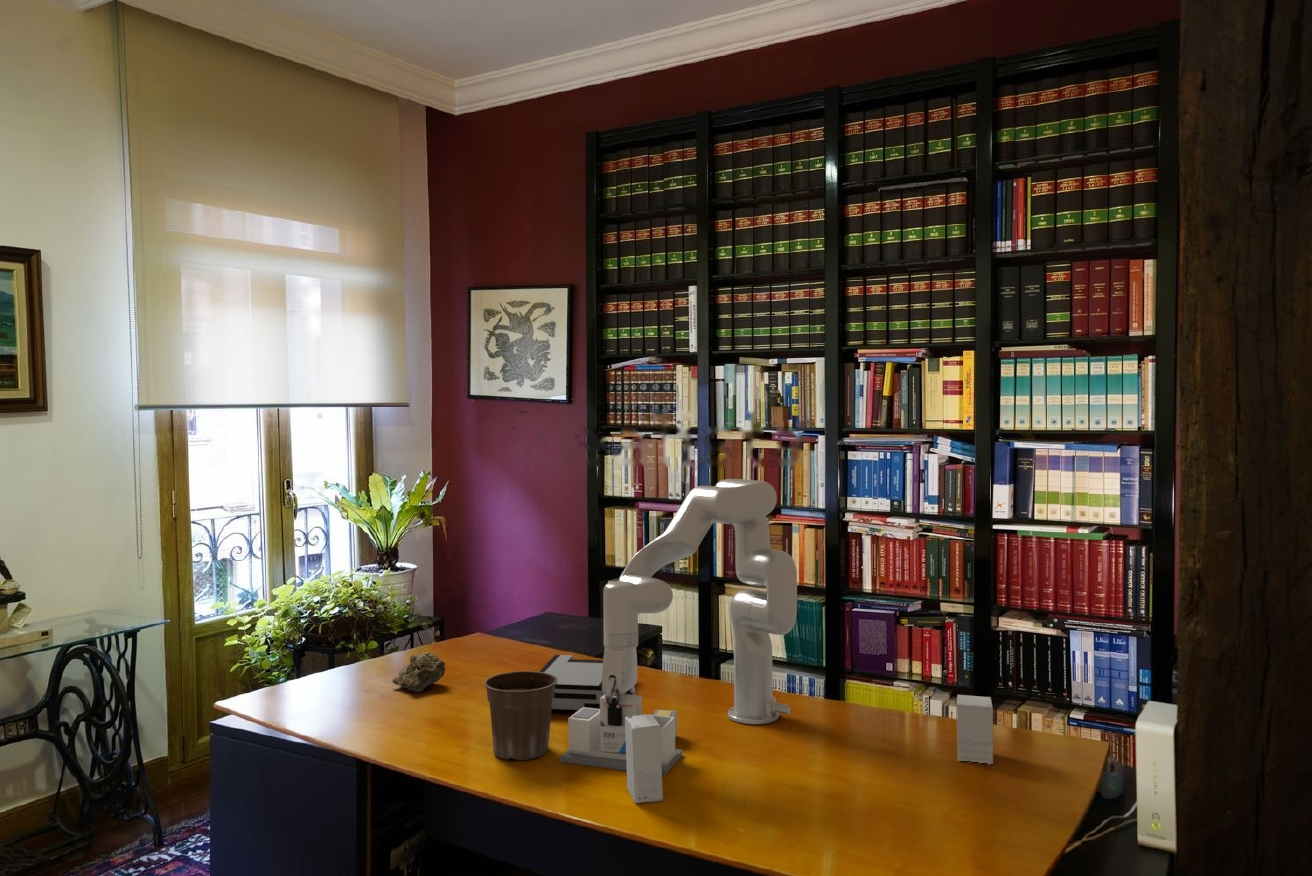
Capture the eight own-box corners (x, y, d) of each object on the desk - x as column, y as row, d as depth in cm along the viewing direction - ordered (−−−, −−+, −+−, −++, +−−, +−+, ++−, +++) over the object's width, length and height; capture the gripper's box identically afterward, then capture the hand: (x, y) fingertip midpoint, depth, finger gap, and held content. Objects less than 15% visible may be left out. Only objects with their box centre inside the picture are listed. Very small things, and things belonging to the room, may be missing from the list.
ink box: (643, 747, 197) (643, 694, 197) (637, 755, 192) (637, 700, 192) (606, 744, 199) (606, 691, 199) (599, 751, 195) (599, 697, 195)
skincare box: (663, 801, 174) (662, 725, 174) (633, 805, 173) (632, 728, 172) (653, 784, 182) (653, 712, 182) (624, 787, 181) (624, 714, 181)
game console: (626, 681, 255) (626, 652, 255) (604, 718, 224) (604, 686, 223) (555, 678, 258) (555, 650, 258) (523, 715, 226) (523, 683, 226)
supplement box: (992, 753, 198) (992, 696, 197) (993, 766, 191) (993, 707, 190) (957, 749, 200) (956, 693, 200) (956, 761, 193) (956, 703, 193)
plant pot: (529, 733, 212) (529, 666, 212) (572, 751, 201) (572, 679, 201) (470, 751, 201) (470, 680, 201) (513, 771, 190) (512, 695, 189)
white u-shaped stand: (682, 755, 198) (682, 714, 198) (664, 775, 187) (664, 732, 186) (583, 743, 206) (582, 703, 206) (560, 762, 195) (560, 720, 194)
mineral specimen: (380, 689, 249) (380, 653, 249) (417, 677, 259) (417, 643, 259) (415, 698, 241) (415, 661, 240) (452, 686, 251) (451, 650, 251)
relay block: (676, 736, 210) (676, 709, 210) (672, 745, 204) (672, 718, 204) (655, 735, 211) (655, 708, 211) (651, 744, 205) (651, 717, 205)
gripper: (619, 628, 205) (620, 706, 205) (589, 647, 189) (589, 731, 189) (650, 631, 203) (651, 709, 203) (622, 650, 186) (622, 735, 187)
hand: (621, 719), depth 196 cm, fingers open, 7 cm apart
